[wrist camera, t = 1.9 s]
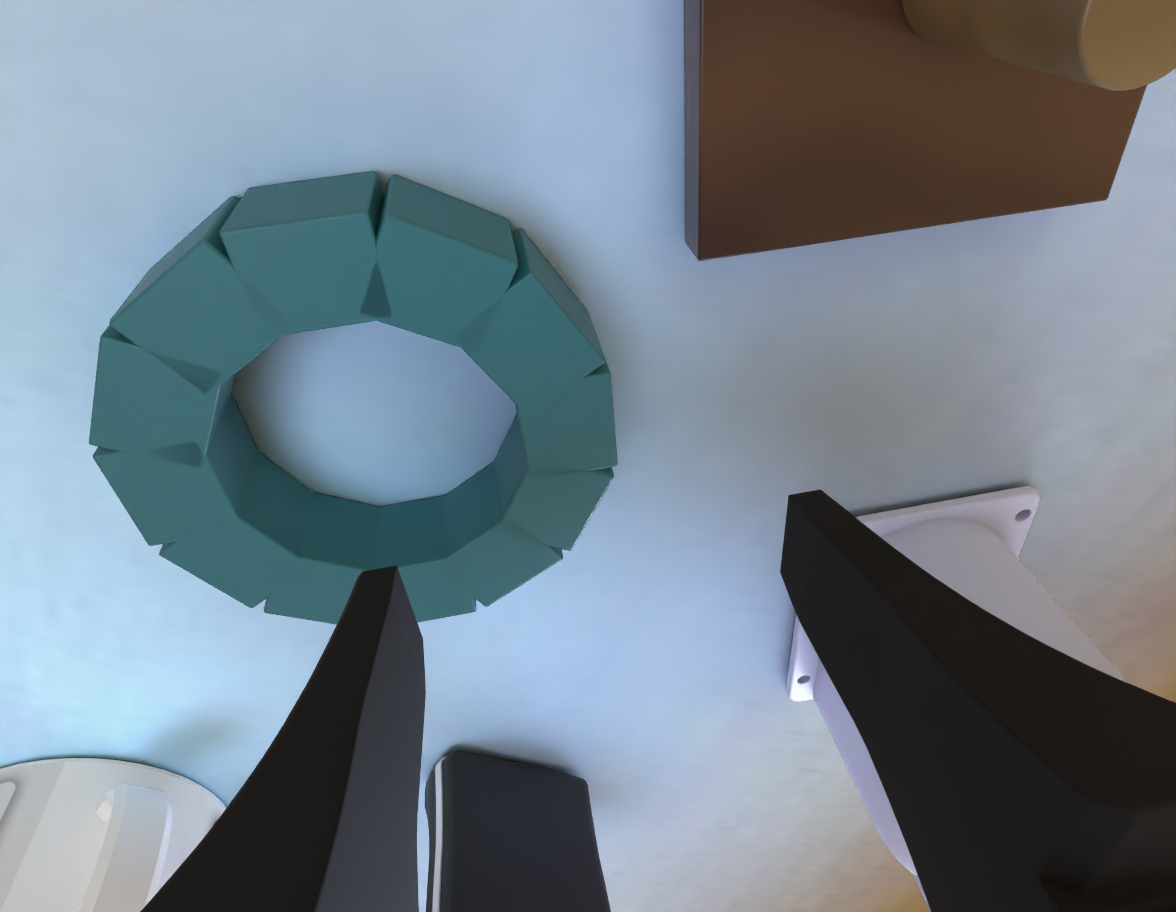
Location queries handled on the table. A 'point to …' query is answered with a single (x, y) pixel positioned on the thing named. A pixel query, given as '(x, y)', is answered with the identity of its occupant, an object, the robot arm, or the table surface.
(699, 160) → the stand
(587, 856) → the battery charger
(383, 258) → the ring
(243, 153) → the table surface
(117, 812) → the mug
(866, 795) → the robot arm
